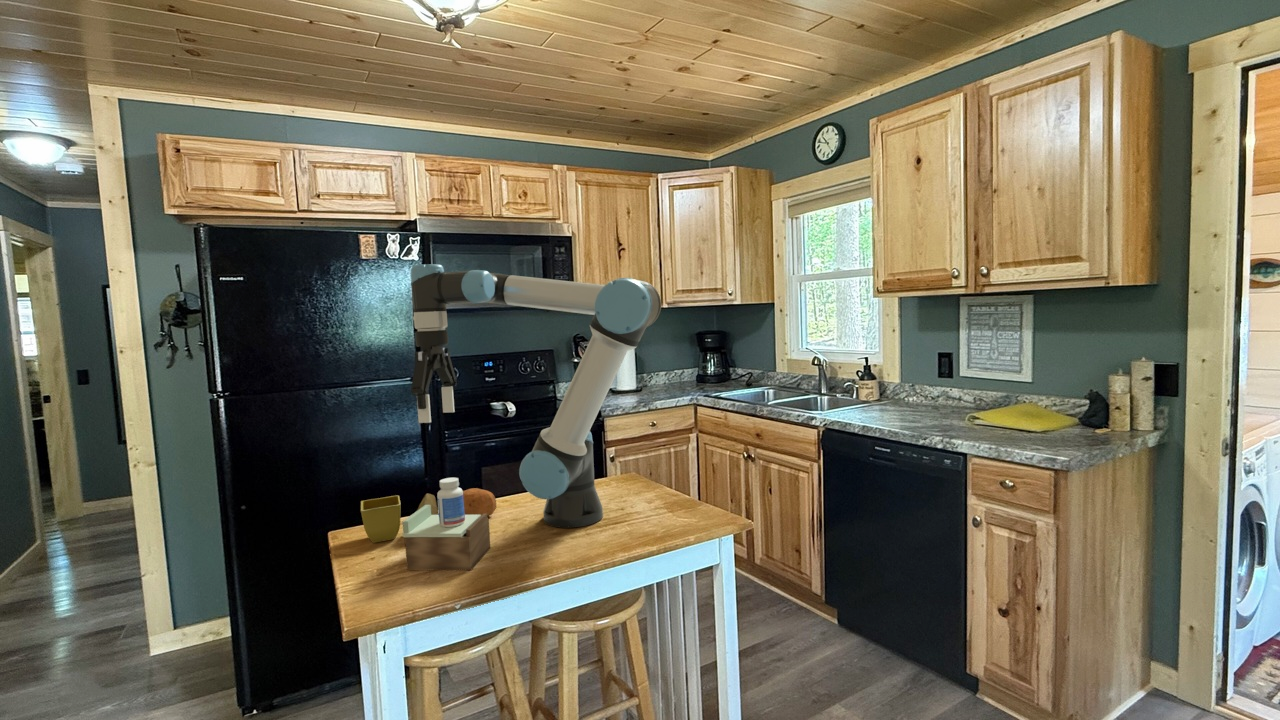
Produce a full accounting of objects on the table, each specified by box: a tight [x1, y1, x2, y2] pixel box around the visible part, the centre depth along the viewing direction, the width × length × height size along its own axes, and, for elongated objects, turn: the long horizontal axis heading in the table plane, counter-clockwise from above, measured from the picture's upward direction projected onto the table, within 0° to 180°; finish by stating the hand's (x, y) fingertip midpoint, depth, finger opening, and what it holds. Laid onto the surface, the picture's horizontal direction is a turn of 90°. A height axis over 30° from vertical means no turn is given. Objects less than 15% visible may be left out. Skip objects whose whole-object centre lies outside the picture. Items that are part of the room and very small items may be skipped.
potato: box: [463, 487, 497, 517], centre depth 166 cm, size 9×11×8 cm
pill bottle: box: [436, 477, 465, 527], centre depth 137 cm, size 6×5×10 cm
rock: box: [416, 493, 439, 515], centre depth 152 cm, size 11×9×10 cm
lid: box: [402, 505, 481, 538], centre depth 138 cm, size 13×12×3 cm
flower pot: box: [360, 494, 402, 544], centre depth 152 cm, size 9×9×9 cm
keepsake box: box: [404, 513, 491, 571], centre depth 138 cm, size 14×12×8 cm
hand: (437, 417), depth 153 cm, fingers open, 13 cm apart
